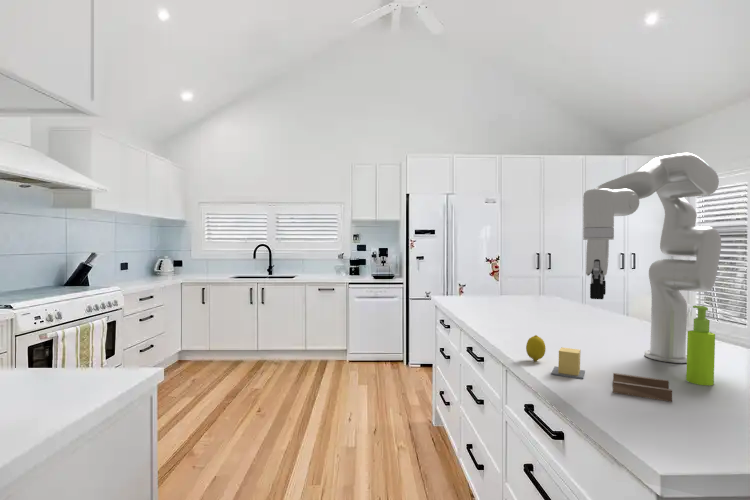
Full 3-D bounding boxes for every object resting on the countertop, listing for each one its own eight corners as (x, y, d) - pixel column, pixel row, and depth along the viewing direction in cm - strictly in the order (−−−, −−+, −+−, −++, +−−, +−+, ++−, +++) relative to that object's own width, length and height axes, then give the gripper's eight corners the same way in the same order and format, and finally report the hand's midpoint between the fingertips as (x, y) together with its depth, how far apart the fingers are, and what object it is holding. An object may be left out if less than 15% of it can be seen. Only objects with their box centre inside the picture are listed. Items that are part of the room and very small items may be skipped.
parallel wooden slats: (613, 382, 117) (613, 372, 117) (668, 390, 111) (668, 380, 111) (612, 392, 108) (613, 382, 108) (672, 401, 103) (672, 390, 103)
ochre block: (560, 368, 128) (561, 347, 128) (580, 371, 125) (580, 349, 125) (558, 372, 123) (558, 350, 123) (578, 375, 121) (578, 353, 121)
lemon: (546, 364, 133) (547, 337, 133) (527, 362, 134) (527, 336, 134) (543, 359, 139) (544, 333, 139) (524, 358, 140) (525, 332, 140)
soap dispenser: (707, 379, 121) (709, 305, 121) (717, 386, 115) (719, 308, 114) (681, 376, 123) (684, 303, 123) (690, 384, 116) (692, 307, 116)
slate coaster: (554, 367, 130) (554, 366, 130) (585, 371, 126) (585, 370, 126) (551, 374, 123) (551, 373, 123) (583, 379, 119) (583, 377, 119)
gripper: (586, 234, 132) (585, 292, 133) (580, 234, 117) (580, 300, 118) (614, 234, 129) (614, 293, 129) (612, 234, 114) (612, 301, 114)
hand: (598, 296), depth 123 cm, fingers open, 9 cm apart
